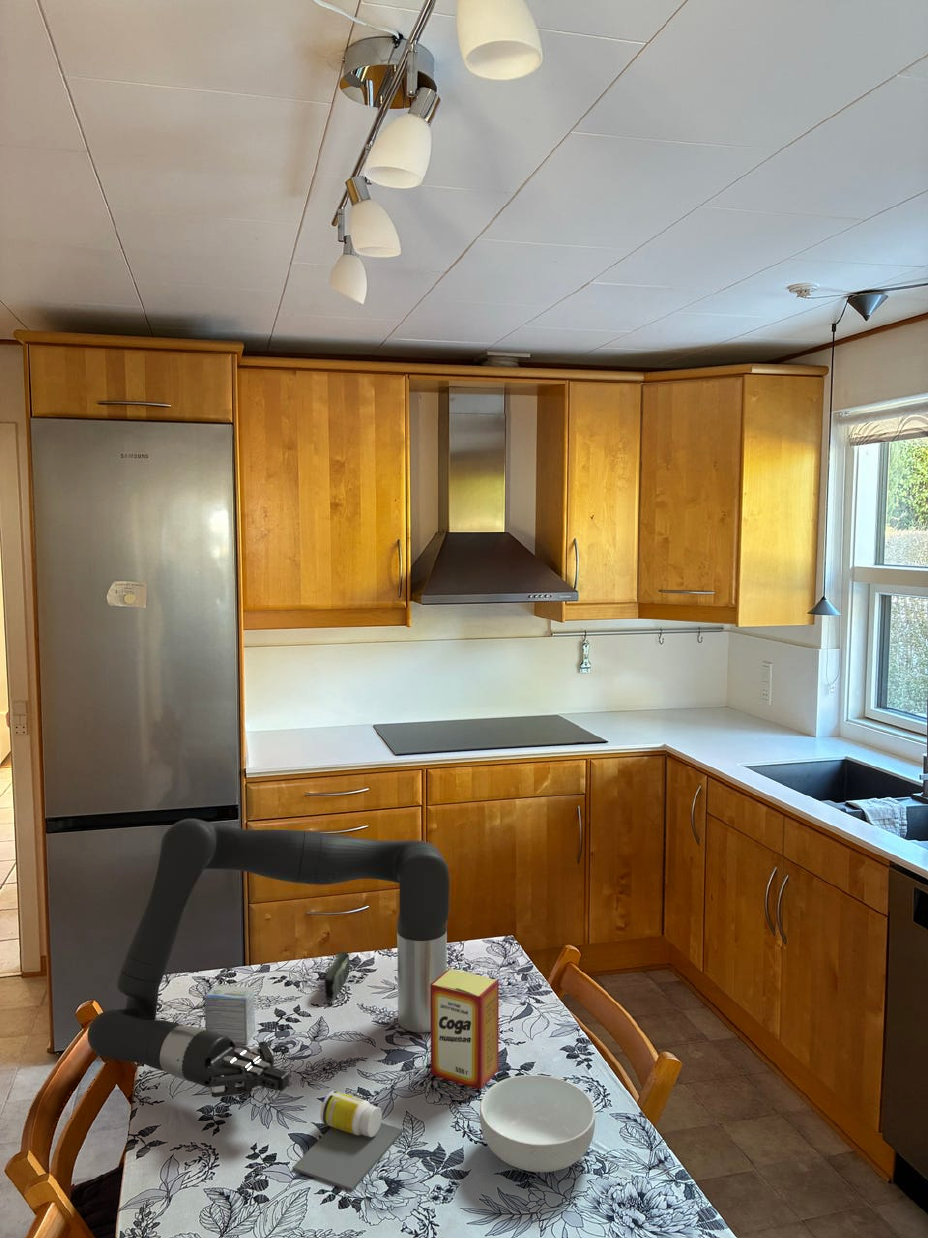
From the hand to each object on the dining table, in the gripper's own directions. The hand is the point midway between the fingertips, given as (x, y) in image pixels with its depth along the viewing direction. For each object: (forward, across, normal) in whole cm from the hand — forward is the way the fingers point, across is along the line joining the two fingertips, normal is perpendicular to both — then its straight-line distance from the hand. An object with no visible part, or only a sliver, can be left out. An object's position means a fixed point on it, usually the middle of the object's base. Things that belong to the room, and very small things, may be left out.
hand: (286, 1082), depth 134 cm
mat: (+11, 0, +8) cm, 13 cm away
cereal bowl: (+36, +11, +8) cm, 39 cm away
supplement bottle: (+5, +4, +5) cm, 8 cm away
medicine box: (-25, +17, +8) cm, 32 cm away
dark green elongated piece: (-18, +42, +8) cm, 46 cm away
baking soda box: (+18, +25, +8) cm, 32 cm away
